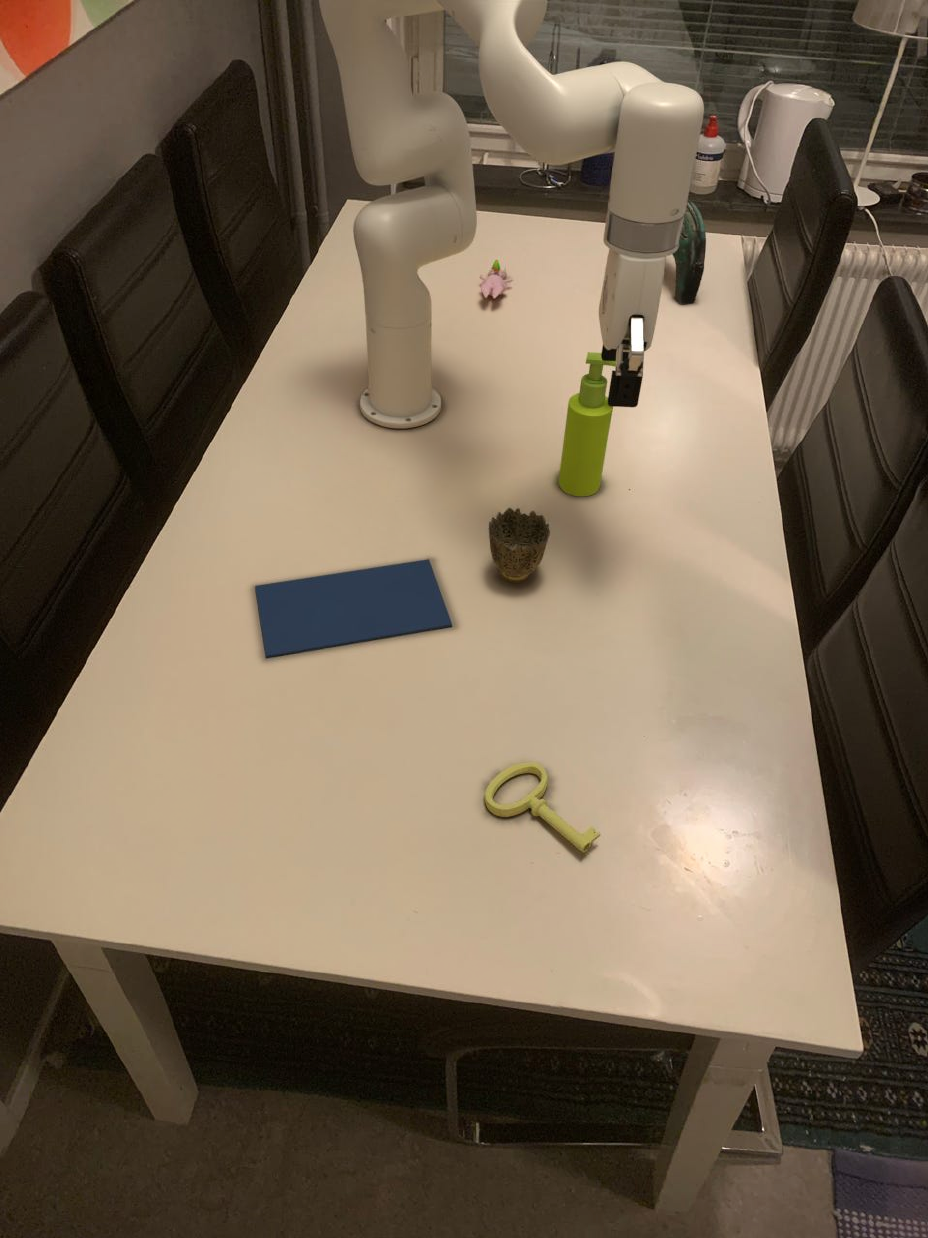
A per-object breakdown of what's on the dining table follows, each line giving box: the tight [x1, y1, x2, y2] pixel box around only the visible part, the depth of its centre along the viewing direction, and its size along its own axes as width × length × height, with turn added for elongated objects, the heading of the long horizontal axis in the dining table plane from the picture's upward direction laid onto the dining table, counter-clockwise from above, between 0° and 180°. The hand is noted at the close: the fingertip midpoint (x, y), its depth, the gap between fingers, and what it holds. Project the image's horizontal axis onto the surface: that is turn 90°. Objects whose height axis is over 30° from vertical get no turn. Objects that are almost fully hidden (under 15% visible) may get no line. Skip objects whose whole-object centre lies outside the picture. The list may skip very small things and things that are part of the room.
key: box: [483, 761, 602, 853], centre depth 91 cm, size 7×12×2 cm, turn 60°
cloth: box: [254, 558, 453, 659], centre depth 111 cm, size 12×22×1 cm, turn 105°
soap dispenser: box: [558, 351, 623, 497], centre depth 122 cm, size 6×7×20 cm
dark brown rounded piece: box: [488, 507, 551, 584], centre depth 113 cm, size 8×7×8 cm
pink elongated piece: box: [479, 259, 514, 299], centre depth 168 cm, size 6×6×15 cm
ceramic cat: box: [671, 198, 707, 305], centre depth 168 cm, size 20×6×20 cm, turn 17°
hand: (618, 381), depth 102 cm, fingers open, 9 cm apart
